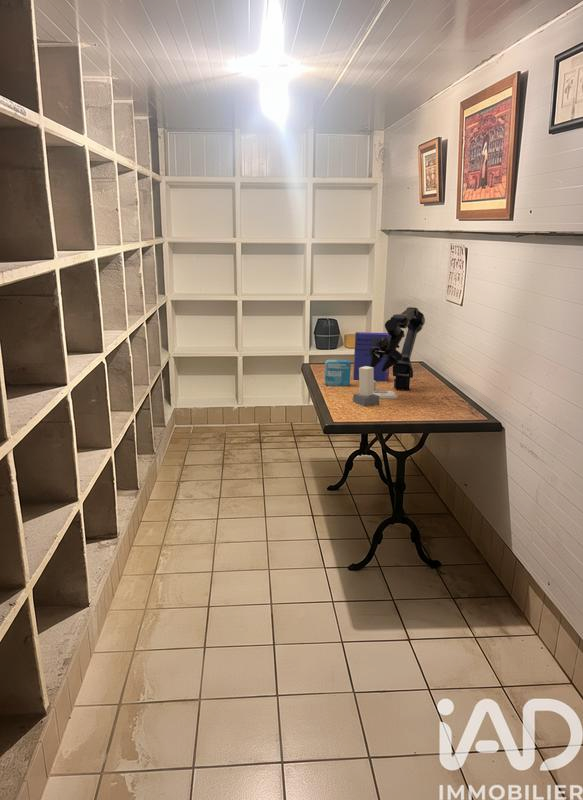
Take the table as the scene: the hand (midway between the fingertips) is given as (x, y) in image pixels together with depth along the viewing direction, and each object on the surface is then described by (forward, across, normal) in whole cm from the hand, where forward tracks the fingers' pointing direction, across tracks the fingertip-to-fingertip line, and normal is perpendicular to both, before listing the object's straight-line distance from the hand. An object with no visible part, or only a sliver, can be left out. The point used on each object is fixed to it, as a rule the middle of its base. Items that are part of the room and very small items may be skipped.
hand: (376, 370), depth 268 cm
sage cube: (+6, -15, +12) cm, 20 cm away
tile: (+7, -4, +12) cm, 15 cm away
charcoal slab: (+16, +3, +2) cm, 16 cm away
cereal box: (-4, -33, +21) cm, 39 cm away
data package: (+9, -30, +4) cm, 32 cm away
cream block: (+12, +4, -1) cm, 13 cm away
